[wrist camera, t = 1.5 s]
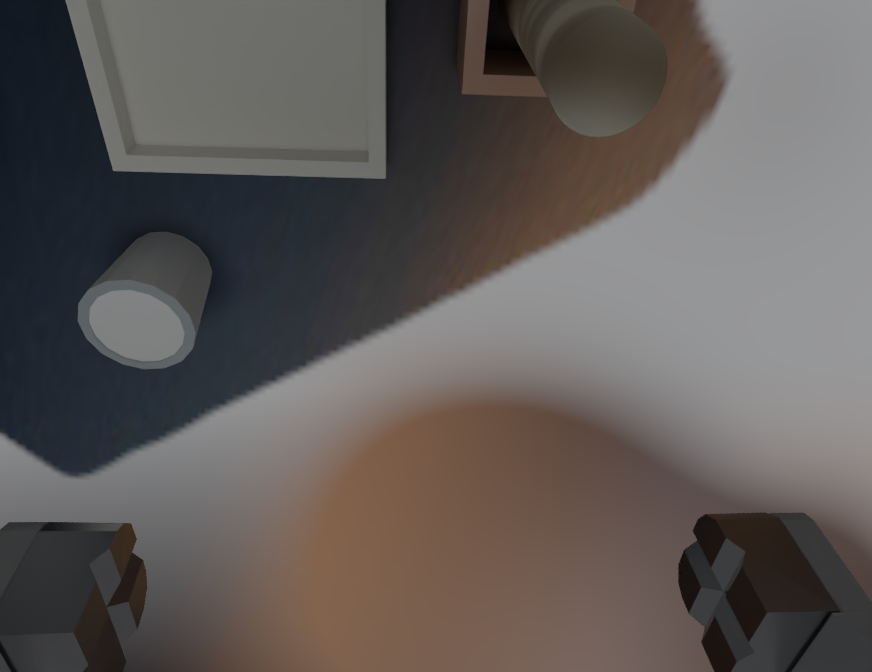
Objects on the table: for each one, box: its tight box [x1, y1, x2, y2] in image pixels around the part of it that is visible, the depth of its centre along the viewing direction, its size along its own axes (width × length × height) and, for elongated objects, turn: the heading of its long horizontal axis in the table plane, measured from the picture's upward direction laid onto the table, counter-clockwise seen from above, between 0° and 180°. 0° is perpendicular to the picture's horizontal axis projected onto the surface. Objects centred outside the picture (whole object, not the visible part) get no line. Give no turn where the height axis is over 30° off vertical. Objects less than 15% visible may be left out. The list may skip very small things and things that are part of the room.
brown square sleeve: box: [456, 0, 636, 97], centre depth 32 cm, size 8×8×5 cm
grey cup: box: [78, 232, 212, 369], centre depth 41 cm, size 7×7×7 cm
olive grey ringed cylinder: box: [498, 0, 667, 137], centre depth 28 cm, size 4×4×16 cm
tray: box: [66, 0, 387, 179], centre depth 33 cm, size 18×16×2 cm
